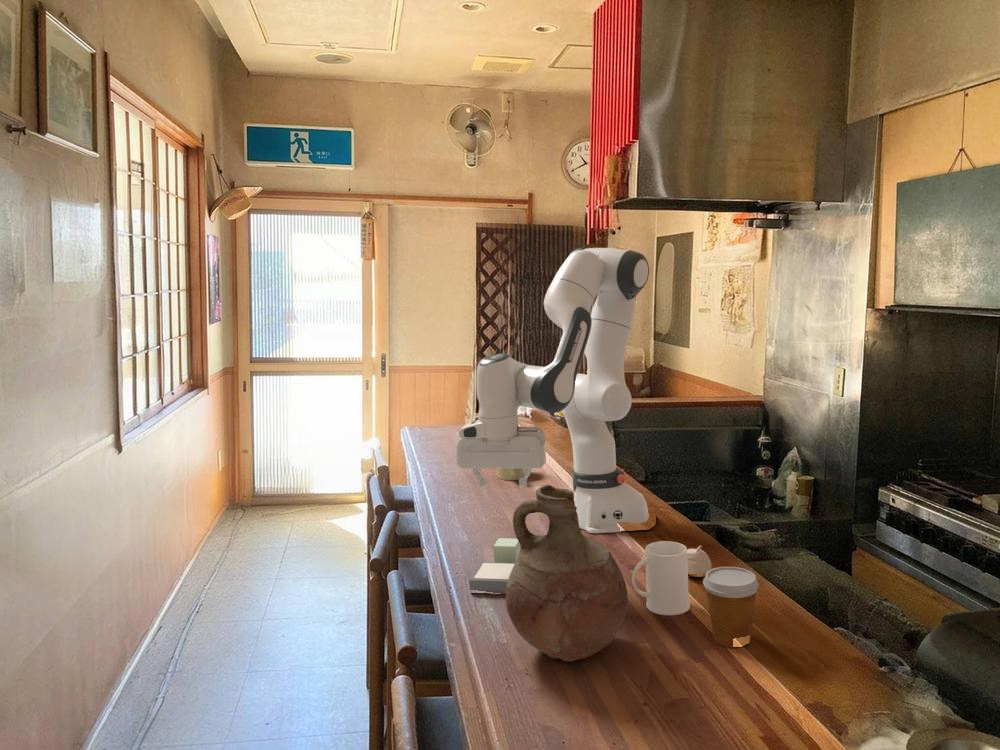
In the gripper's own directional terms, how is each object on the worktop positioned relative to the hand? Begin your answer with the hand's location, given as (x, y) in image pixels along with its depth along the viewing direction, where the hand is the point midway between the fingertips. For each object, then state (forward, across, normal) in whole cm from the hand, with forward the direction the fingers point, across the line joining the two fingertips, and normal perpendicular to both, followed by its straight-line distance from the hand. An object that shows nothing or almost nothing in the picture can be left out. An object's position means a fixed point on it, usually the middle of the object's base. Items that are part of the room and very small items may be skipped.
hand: (503, 486), depth 178 cm
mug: (+19, -35, +18) cm, 44 cm away
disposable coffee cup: (+19, -48, +30) cm, 60 cm away
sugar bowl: (+19, +14, -74) cm, 78 cm away
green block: (+19, 0, 0) cm, 19 cm away
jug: (+19, -20, +37) cm, 46 cm away
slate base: (+19, 0, +10) cm, 22 cm away
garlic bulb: (+19, -42, +2) cm, 46 cm away
